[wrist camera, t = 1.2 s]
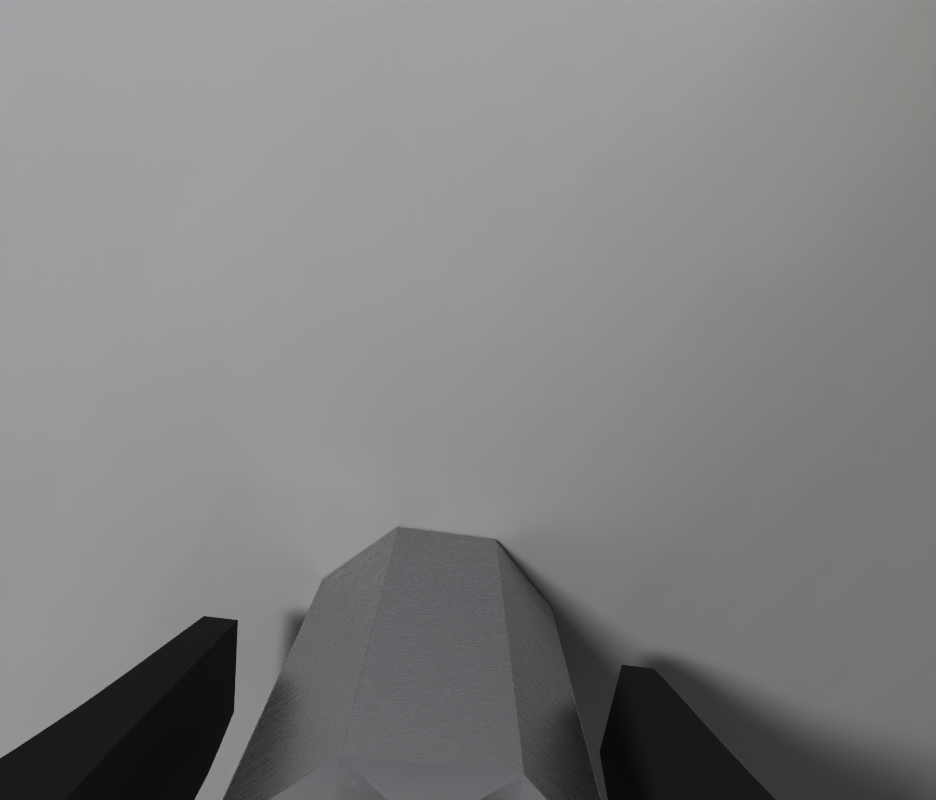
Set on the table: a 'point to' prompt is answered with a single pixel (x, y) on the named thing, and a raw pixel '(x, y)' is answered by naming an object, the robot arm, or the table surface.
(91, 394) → the table surface
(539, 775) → the tube
